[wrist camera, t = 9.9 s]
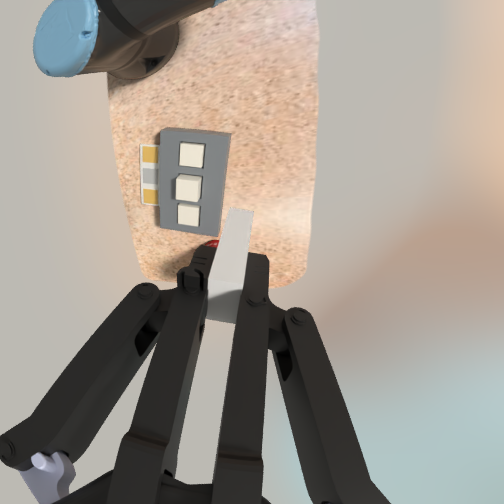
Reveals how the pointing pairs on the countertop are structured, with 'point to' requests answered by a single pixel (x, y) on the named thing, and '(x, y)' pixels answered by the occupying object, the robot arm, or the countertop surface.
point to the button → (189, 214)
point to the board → (210, 173)
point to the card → (150, 173)
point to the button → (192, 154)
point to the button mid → (188, 187)
